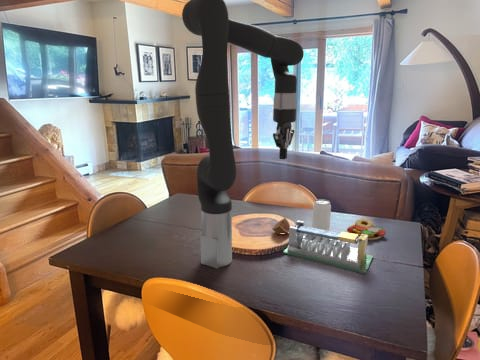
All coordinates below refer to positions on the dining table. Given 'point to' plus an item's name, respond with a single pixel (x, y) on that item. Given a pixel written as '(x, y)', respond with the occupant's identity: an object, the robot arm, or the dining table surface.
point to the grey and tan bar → (329, 234)
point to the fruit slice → (282, 226)
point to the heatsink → (329, 250)
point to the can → (321, 214)
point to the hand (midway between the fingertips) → (283, 158)
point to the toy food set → (366, 229)
